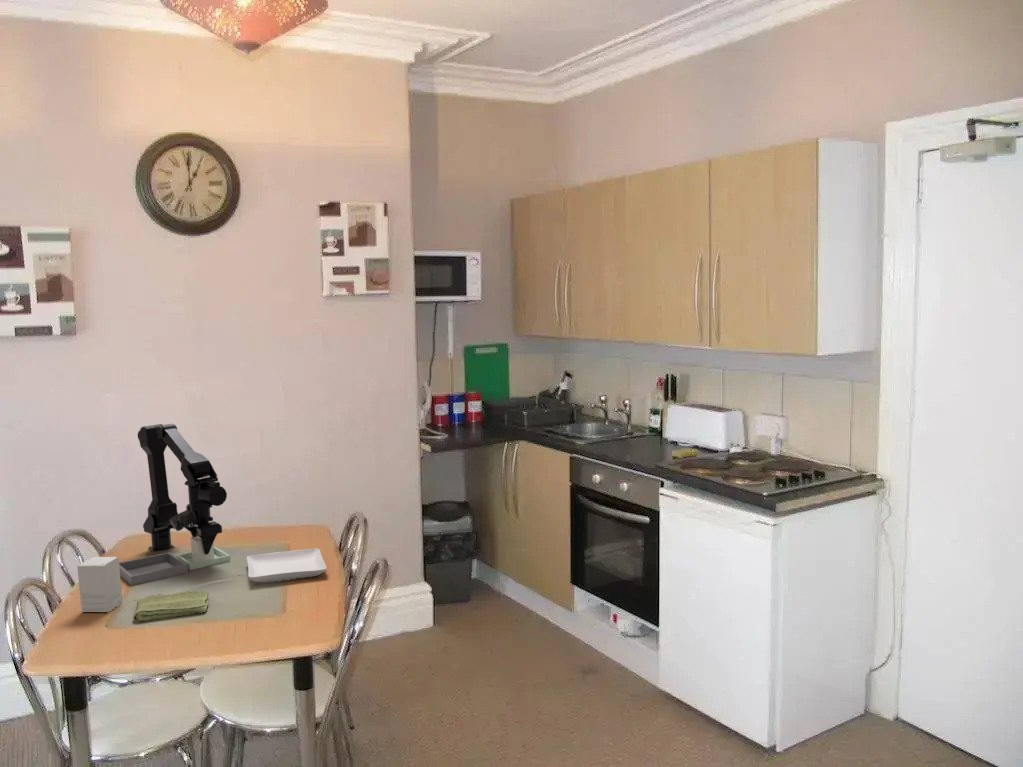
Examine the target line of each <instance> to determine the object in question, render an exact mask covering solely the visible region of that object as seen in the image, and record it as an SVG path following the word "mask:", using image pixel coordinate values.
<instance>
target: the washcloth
mask: <svg viewBox="0 0 1023 767" xmlns="http://www.w3.org/2000/svg"><path fill="white" fill-rule="evenodd" d="M208 597H209V591H206V590H195V591H194V590H188V591H183V592H176V593H169V594H158V595H149V596H145V597H142V598H140V599H138V601H137V602H136V607H135V610H134V613H133V616H132V620H134V622H137V623H141V622H150V620H152V621H157V619H159V620H164V619H163V618H166V619H169V618H168V617H172V618H175V617H174V616H178V617H183V616H182V615H185V616H190V615H189V614H191V615H195V614H194V613H199V614H200V613H201V612H205V613H206V612H207V607H208V605H209V599H208ZM201 614H202V613H201Z"/></svg>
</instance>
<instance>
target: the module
mask: <svg viewBox="0 0 1023 767" xmlns="http://www.w3.org/2000/svg"><path fill="white" fill-rule="evenodd" d="M214 547H215V544H214V543H213V544H212V547H211V549H210V551H209V554H206V555H205V554H204V550H203V546H202V541H201V538H200V537H198V536H197V537H192V536H191V537H190V552H191V553H192V561H194V562H200V561H204V560H209V559H213V558H214Z"/></svg>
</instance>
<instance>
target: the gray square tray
mask: <svg viewBox="0 0 1023 767" xmlns="http://www.w3.org/2000/svg"><path fill="white" fill-rule="evenodd" d="M119 568H120V578H121V579H123V580H124V581H125V582H127V583H128V584H129V586H134V585H139V584H143V583H147V582H152V581H156V580H161V579H166V578H170V577H174V576H178V575H179V576H180V575H182V574H187V573H189V569H188V565H187V564H186V563H185V562H183V561H182V560H181V559H179V558H178V557H176V554H173V553H172V552H170V551H169V552H164V553H163V552H162V553H159V554H154V555H149V556H146V557H145V556H144V557H141V558H135V559H131V560H126V561H125V560H124V561H121V562H120V561H119Z"/></svg>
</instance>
